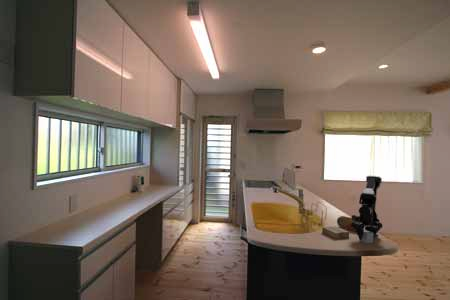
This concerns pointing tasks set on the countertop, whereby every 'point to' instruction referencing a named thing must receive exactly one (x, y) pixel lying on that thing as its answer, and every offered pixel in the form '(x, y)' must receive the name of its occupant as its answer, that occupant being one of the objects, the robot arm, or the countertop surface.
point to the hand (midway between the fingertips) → (366, 239)
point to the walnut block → (335, 232)
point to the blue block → (367, 237)
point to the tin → (345, 223)
